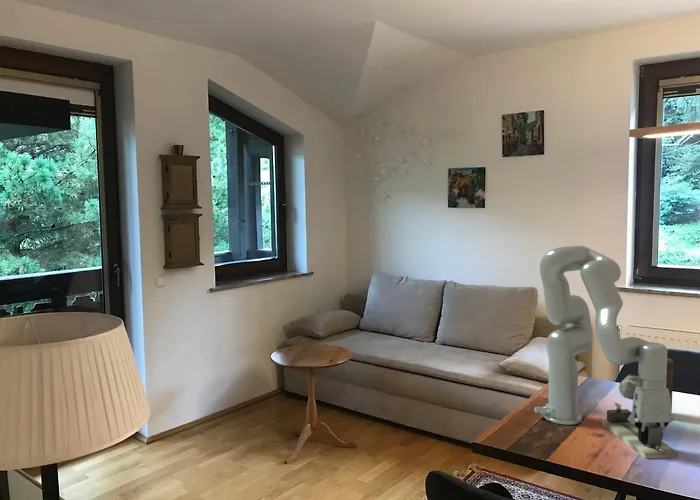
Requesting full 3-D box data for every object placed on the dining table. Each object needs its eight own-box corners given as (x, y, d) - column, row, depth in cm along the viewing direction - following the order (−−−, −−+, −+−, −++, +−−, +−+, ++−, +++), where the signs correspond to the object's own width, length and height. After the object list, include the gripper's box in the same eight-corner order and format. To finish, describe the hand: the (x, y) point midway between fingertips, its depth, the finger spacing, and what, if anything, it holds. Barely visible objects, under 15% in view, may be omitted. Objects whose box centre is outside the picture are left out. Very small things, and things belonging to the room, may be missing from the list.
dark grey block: (669, 453, 168) (670, 433, 167) (656, 453, 168) (657, 433, 167) (651, 439, 177) (652, 421, 177) (639, 440, 177) (639, 421, 177)
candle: (670, 420, 197) (673, 363, 195) (647, 416, 200) (648, 360, 199) (672, 413, 203) (674, 357, 201) (648, 409, 207) (650, 355, 205)
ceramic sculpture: (613, 374, 219) (622, 367, 231) (612, 396, 220) (621, 388, 232) (643, 379, 213) (651, 372, 225) (642, 402, 213) (650, 394, 225)
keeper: (631, 422, 191) (632, 406, 191) (611, 423, 191) (611, 407, 190) (625, 418, 195) (625, 402, 195) (605, 418, 195) (605, 402, 194)
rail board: (677, 457, 169) (678, 451, 169) (644, 458, 169) (645, 453, 168) (630, 422, 195) (630, 418, 195) (601, 423, 194) (601, 419, 194)
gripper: (631, 388, 169) (629, 448, 170) (686, 387, 170) (684, 446, 171) (618, 380, 176) (616, 438, 178) (671, 379, 177) (669, 436, 179)
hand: (650, 441), depth 175 cm, fingers closed on dark grey block, 4 cm apart
